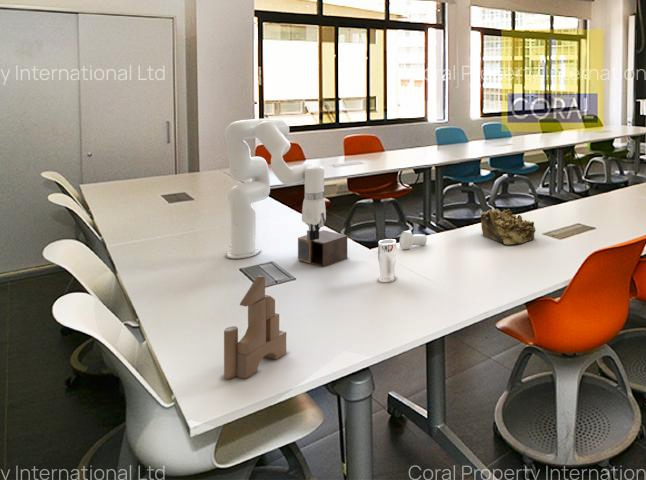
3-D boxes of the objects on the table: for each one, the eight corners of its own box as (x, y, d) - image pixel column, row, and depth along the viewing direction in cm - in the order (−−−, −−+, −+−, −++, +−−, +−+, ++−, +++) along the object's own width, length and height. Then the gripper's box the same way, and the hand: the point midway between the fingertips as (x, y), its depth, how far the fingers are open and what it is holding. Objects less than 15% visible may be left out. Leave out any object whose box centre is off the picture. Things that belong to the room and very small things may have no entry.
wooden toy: (268, 349, 156) (268, 265, 156) (286, 353, 154) (286, 267, 154) (221, 378, 141) (221, 284, 141) (240, 382, 139) (240, 288, 139)
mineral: (544, 235, 267) (544, 205, 267) (514, 248, 246) (515, 216, 246) (501, 226, 282) (501, 198, 282) (470, 238, 261) (470, 208, 261)
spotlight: (396, 244, 247) (401, 228, 247) (418, 244, 254) (423, 228, 254) (403, 252, 241) (408, 235, 241) (425, 252, 248) (430, 235, 248)
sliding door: (309, 263, 225) (309, 231, 224) (297, 259, 229) (297, 228, 228) (311, 262, 225) (311, 230, 225) (299, 259, 229) (299, 227, 229)
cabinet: (323, 267, 222) (323, 243, 222) (299, 260, 230) (299, 237, 230) (347, 258, 232) (347, 235, 232) (323, 252, 240) (323, 230, 240)
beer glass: (400, 277, 211) (400, 240, 211) (389, 284, 205) (389, 245, 204) (385, 275, 213) (385, 238, 213) (374, 281, 207) (374, 243, 207)
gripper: (295, 195, 224) (295, 238, 224) (318, 199, 216) (318, 244, 217) (310, 192, 230) (311, 234, 231) (333, 196, 223) (333, 239, 223)
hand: (314, 239), depth 224 cm, fingers closed
